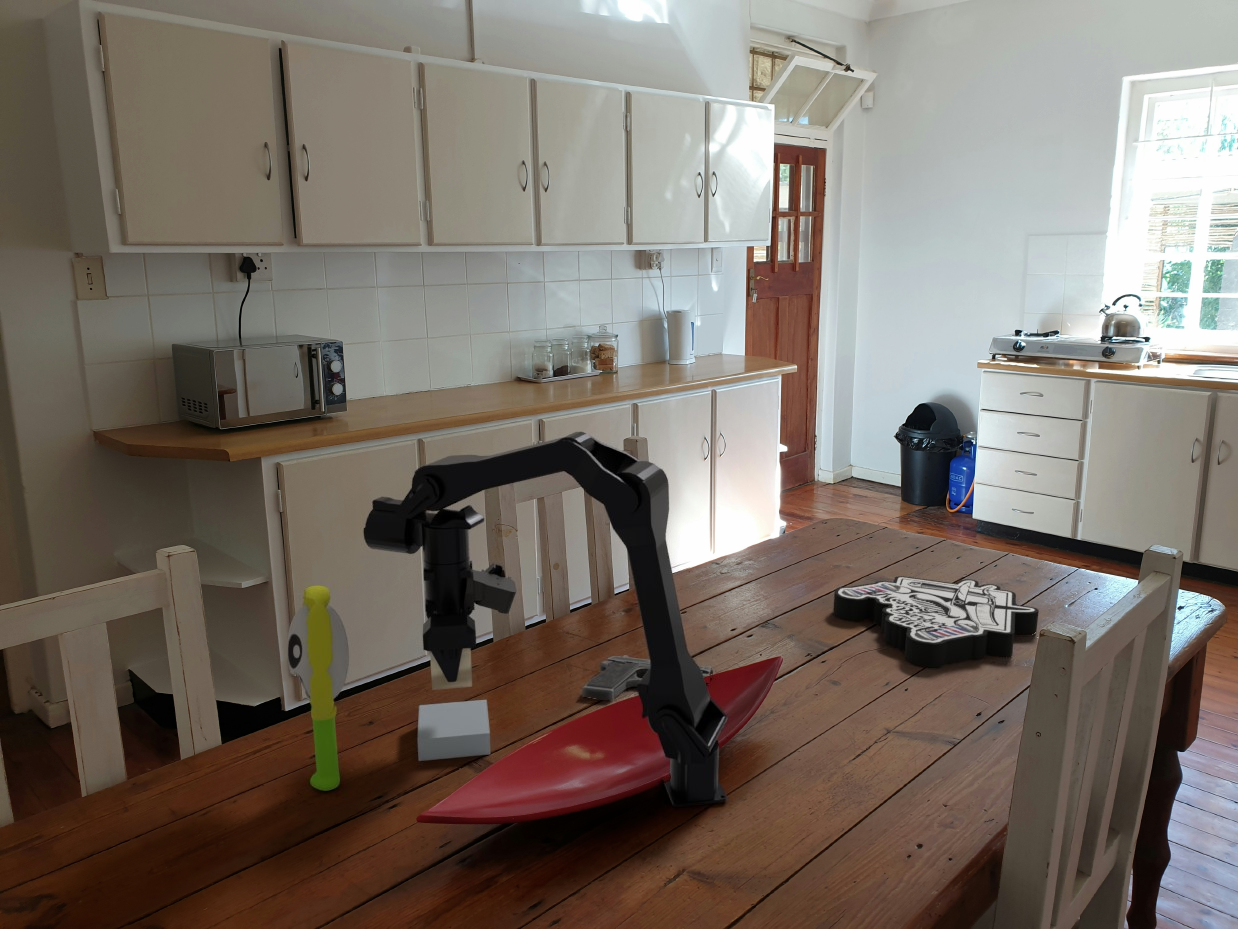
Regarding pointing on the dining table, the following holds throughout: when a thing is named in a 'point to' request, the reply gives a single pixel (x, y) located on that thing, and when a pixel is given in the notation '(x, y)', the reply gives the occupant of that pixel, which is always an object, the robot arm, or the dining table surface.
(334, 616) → the toy
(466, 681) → the cube
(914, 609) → the decorative sign
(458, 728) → the base
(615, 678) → the handgun
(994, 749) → the dining table surface
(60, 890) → the dining table surface
